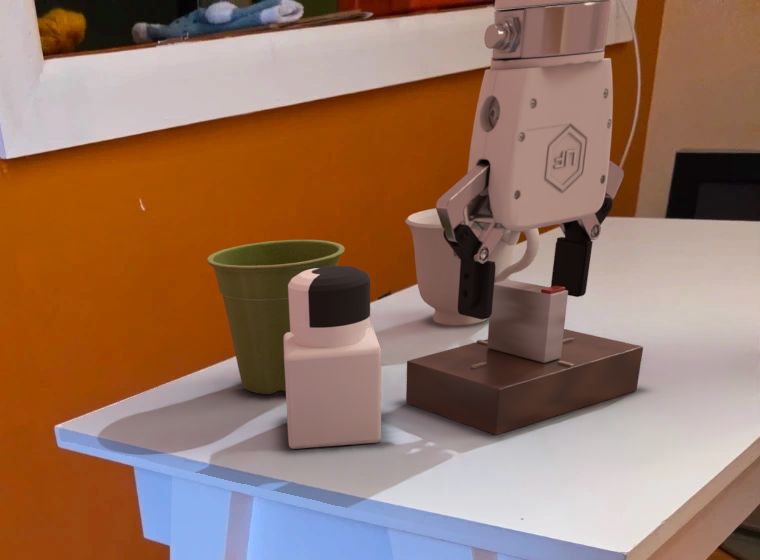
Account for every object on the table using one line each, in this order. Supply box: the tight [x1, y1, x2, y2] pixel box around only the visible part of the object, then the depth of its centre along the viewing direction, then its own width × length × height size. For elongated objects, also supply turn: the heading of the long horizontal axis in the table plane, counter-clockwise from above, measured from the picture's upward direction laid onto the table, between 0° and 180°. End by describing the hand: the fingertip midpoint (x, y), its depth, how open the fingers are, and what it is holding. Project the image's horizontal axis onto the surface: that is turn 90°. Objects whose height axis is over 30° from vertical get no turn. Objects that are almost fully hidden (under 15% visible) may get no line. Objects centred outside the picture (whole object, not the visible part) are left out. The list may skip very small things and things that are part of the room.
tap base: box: [405, 328, 644, 436], centre depth 78 cm, size 15×11×4 cm
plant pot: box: [206, 239, 346, 395], centre depth 85 cm, size 12×12×11 cm
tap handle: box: [487, 279, 569, 363], centre depth 76 cm, size 6×2×5 cm, turn 29°
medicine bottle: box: [284, 265, 382, 450], centre depth 73 cm, size 7×7×12 cm
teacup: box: [404, 207, 541, 326], centre depth 98 cm, size 12×15×10 cm
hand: (521, 304), depth 75 cm, fingers open, 9 cm apart
